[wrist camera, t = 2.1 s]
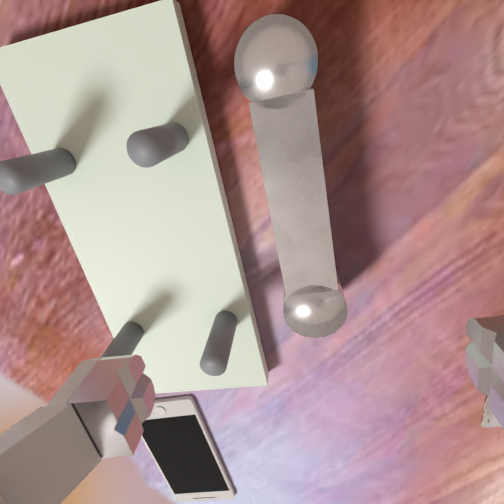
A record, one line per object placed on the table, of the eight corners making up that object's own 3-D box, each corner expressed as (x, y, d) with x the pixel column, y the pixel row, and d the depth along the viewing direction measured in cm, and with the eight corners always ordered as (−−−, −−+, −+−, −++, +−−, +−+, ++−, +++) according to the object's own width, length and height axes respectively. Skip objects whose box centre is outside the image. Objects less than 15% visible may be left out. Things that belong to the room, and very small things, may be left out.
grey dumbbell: (308, 19, 20) (312, 3, 16) (342, 302, 27) (349, 334, 24) (237, 38, 20) (225, 26, 17) (289, 308, 28) (288, 340, 24)
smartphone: (192, 391, 34) (190, 399, 33) (236, 491, 39) (235, 499, 39) (127, 399, 35) (123, 407, 34) (179, 494, 41) (176, 503, 40)
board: (179, 3, 20) (133, -34, 14) (268, 372, 31) (263, 437, 25) (4, 54, 22) (-100, 40, 16) (145, 382, 33) (113, 444, 27)
